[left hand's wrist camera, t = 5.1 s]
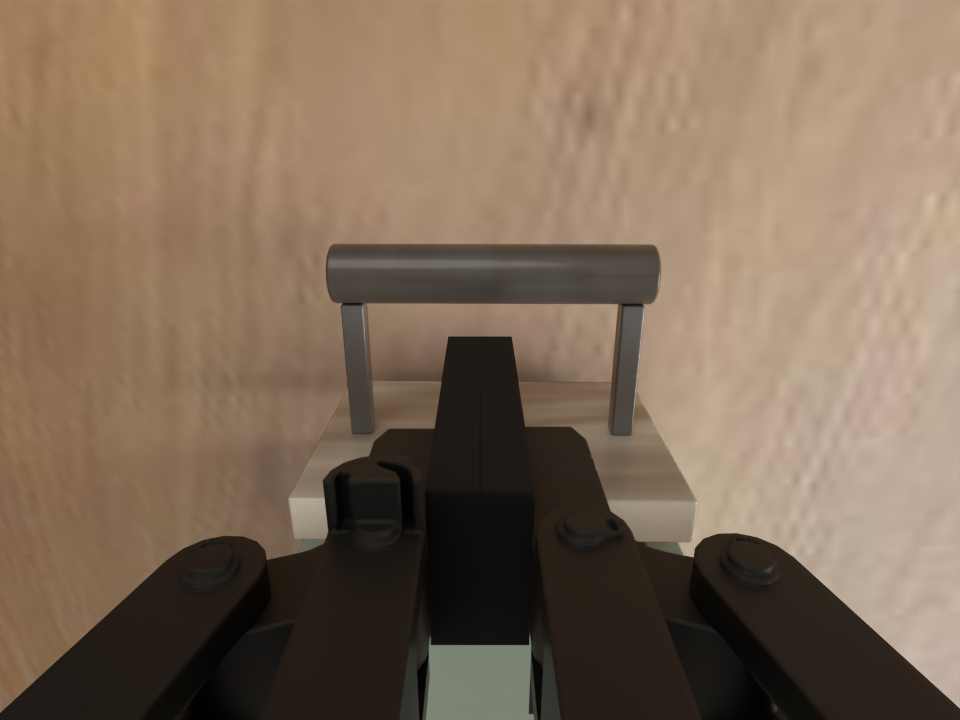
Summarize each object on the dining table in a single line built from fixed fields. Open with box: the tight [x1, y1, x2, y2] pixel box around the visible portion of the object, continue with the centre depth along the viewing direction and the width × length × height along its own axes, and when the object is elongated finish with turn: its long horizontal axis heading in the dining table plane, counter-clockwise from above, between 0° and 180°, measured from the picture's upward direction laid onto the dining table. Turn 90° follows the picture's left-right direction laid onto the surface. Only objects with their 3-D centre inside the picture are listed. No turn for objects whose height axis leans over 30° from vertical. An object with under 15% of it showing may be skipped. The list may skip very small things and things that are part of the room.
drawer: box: [288, 244, 698, 542], centre depth 20 cm, size 25×10×7 cm, turn 0°
